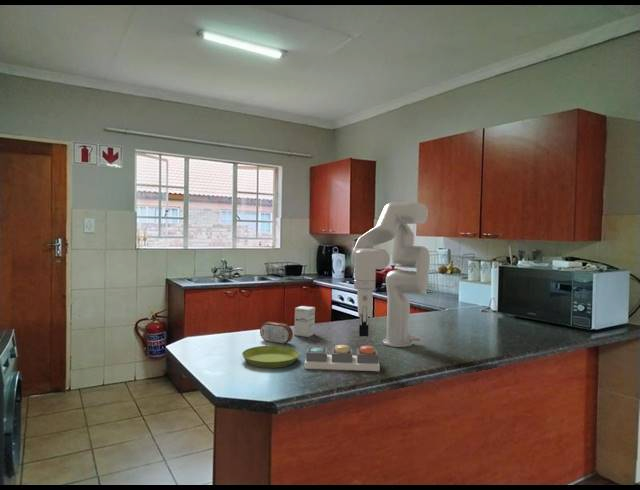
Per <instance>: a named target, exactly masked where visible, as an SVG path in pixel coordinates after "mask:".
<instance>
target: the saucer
mask: <svg viewBox="0 0 640 490" xmlns="http://www.w3.org/2000/svg"><path fill="white" fill-rule="evenodd" d="M241 355H242V357H243V359H244V361H246V362H247V363H249V364H250V365H252V366H254V367H256V368H257V367H258V368H264V369H266V368H267V369H275V368H282V367H288V366H289V365H292V364H293V363H294V362H295V361H296V360H297V359H298V357H299V356H300V352H299V351H298V350H297V349H295V348H292V347H287V346H282V345H281V346H280V345H260V346H254V347H253V346H252V347H249V348H246V349H244V350H243V352H242V353H241Z"/></svg>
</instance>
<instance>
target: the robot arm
mask: <svg viewBox="0 0 640 490" xmlns="http://www.w3.org/2000/svg"><path fill="white" fill-rule="evenodd" d="M428 217H429V211H428V208H427V206H426V205H425V204H424V203H420V202H419V203H418V202H413V201H399V202H397V201H393V202H389V203H387V204H386V205H384V207H383V209H382V211H381V213H380V215H379V218H378V220H377V222H376V225H375V226H374V227H373V228H371V229H369V230H368V231H367V232H365V233H364V234H363V235H361V236H359V238H358V239H357V241H356V243H355V245H354V246H353V248H352V249H353V250H352V252H351V256H350V262H351V264H352V265H353V267H354V272H353V273H354V274H353V275H354V279H353V289H354V290H357V291H356V292H357V293H356V295H357V297H356V298H357V299H356V300H357V301H356V303H357V312H358V318H359V328H358V331H359V332H358V333H359V334H358V335H359V337H369V328H370V327H369V326H370V325H369V318H370V319H372V318H373V308H374V307H373V303H374V302H373V294H374V293H373V291H375V290H376V276H377V275H376V270H384V269H386V268H387V267H388V266H389V265H390V262H391V263H392V265H393V266H395V267H398V268H404V269H405V268H406V269H416V270H414V271H413V270H406V269H405V270H402V269H401V270H400V269H395V270H394V269H393V270H390V271H389V272H387V274H386V276H385V286H386V287H385V288H386V293H387V294H386V295H387V303H386V305H387V306H386V309H387V311H386V337H385V338H382V339H383V340H382V344H383V345H385V346H387V347H388V346H389V347H393V348H408V347H411V346H413V344H414V342H413V341H419V342H420V341H421V336H419V335H416V334H415V335H413V334H412V335H411V334H410V318H411V315H410V314H411V313H410V312H411V310H410V307H411V305H410V300H409V297H408V296H407V295H406V294H410V295H423V294H425V293H426V292H427V290H428V283H429V282H428V281H429V274H430V261H431V257H430V255H431V254H430V250H429V249H428V248H427V247H425V246H422V245H414V244H415V243H414V241H415V240H414V239H415V235H414V234H415V233H414V231H413V229H412V228H411V227H410V225H412V224H414V225H421V224H422V225H423V224H424V223H426V221H427V220H428ZM408 224H409V225H408ZM392 240H393V244H392V252H391V256H390V253H389V252H388V251H387V250H385V249H382V248H373V247H375V246H378V245H380V244H384V243H387V242H390V241H392Z"/></svg>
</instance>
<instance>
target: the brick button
mask: <svg viewBox="0 0 640 490" xmlns="http://www.w3.org/2000/svg"><path fill="white" fill-rule="evenodd" d="M359 349H360V354H374V349H375V346H373V345H372V346H371V345H361V346H360V347H359Z"/></svg>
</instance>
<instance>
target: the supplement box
mask: <svg viewBox="0 0 640 490" xmlns="http://www.w3.org/2000/svg"><path fill="white" fill-rule="evenodd" d="M315 319H316V307H315V306H306V305H300V306H297V307H295V308H294V326H293V327H294V328H293V329H294V330H293V332H294V333H293V336H298V337H306V338H309V337H311V336H313V335H314V334H315V321H316V320H315Z"/></svg>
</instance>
